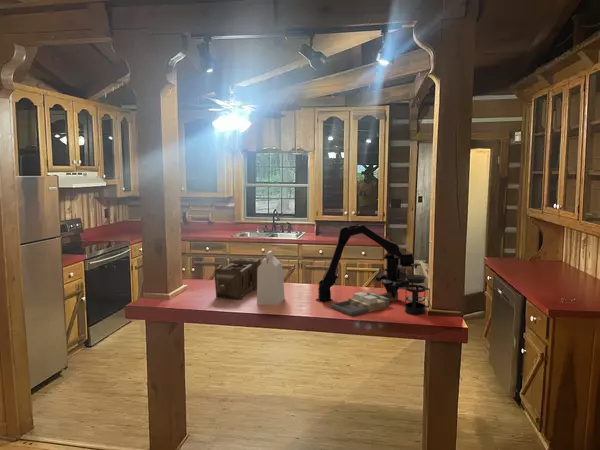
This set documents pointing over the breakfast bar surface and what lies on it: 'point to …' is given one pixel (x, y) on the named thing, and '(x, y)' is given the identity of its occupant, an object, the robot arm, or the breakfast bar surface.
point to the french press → (416, 294)
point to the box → (348, 308)
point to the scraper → (385, 297)
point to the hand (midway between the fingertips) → (392, 296)
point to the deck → (371, 307)
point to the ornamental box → (236, 278)
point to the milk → (270, 281)
